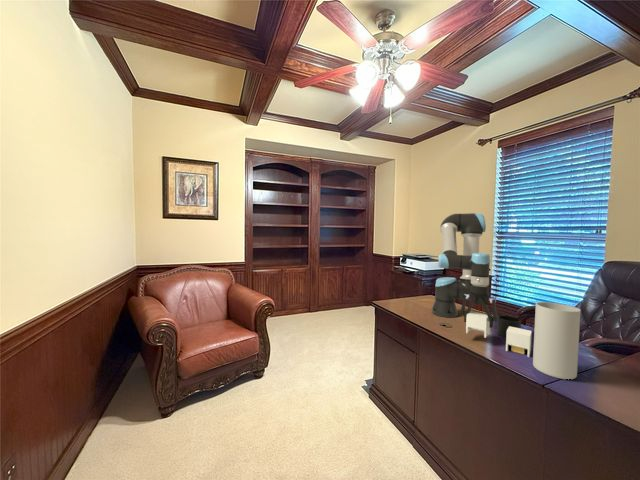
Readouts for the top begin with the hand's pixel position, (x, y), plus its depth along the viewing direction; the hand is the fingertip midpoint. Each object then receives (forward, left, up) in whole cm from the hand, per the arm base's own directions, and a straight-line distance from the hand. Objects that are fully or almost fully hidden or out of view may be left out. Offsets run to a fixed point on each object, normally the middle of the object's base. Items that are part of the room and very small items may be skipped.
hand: (477, 331), depth 127 cm
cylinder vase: (+12, +28, -5) cm, 31 cm away
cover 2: (0, +16, -4) cm, 17 cm away
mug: (-19, +11, -5) cm, 23 cm away
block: (0, +16, -4) cm, 17 cm away
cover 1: (0, 0, -1) cm, 1 cm away
